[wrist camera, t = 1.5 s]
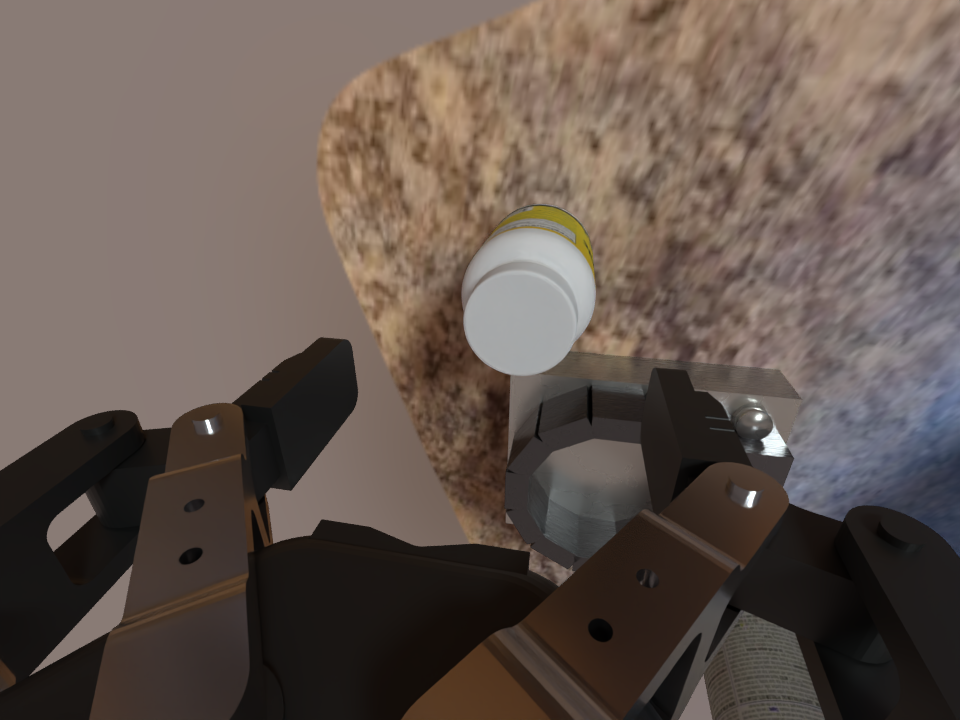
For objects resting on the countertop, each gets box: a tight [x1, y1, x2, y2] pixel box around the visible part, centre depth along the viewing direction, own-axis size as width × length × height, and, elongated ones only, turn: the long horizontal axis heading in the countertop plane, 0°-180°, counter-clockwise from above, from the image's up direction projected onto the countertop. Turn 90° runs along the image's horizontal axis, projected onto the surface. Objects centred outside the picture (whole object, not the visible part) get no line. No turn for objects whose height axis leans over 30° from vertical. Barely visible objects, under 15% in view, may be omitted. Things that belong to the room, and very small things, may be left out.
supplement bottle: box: [462, 204, 596, 376], centre depth 20 cm, size 5×5×10 cm
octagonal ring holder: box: [505, 352, 802, 571], centre depth 26 cm, size 14×11×6 cm
